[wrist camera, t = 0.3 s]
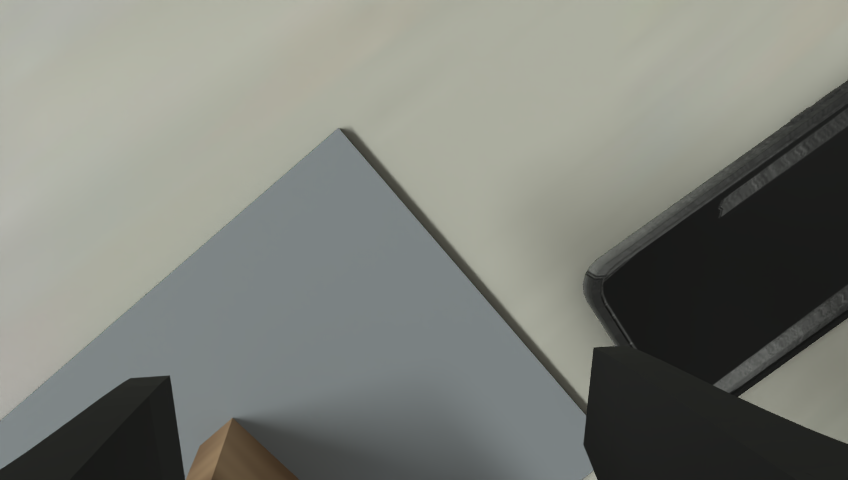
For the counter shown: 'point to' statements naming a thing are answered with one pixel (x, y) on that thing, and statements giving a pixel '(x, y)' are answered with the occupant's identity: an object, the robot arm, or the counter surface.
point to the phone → (740, 259)
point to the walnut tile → (236, 458)
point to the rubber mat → (330, 346)
